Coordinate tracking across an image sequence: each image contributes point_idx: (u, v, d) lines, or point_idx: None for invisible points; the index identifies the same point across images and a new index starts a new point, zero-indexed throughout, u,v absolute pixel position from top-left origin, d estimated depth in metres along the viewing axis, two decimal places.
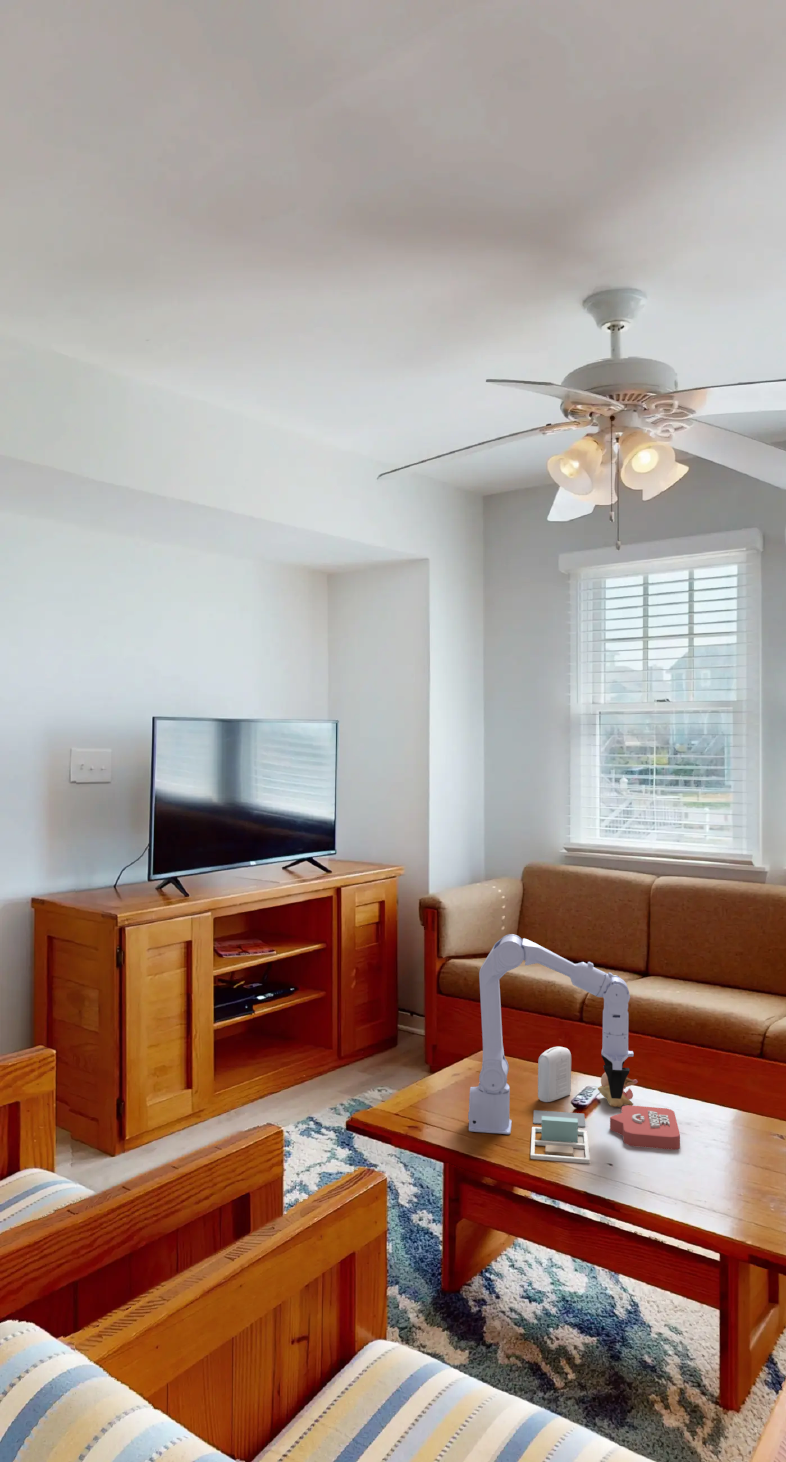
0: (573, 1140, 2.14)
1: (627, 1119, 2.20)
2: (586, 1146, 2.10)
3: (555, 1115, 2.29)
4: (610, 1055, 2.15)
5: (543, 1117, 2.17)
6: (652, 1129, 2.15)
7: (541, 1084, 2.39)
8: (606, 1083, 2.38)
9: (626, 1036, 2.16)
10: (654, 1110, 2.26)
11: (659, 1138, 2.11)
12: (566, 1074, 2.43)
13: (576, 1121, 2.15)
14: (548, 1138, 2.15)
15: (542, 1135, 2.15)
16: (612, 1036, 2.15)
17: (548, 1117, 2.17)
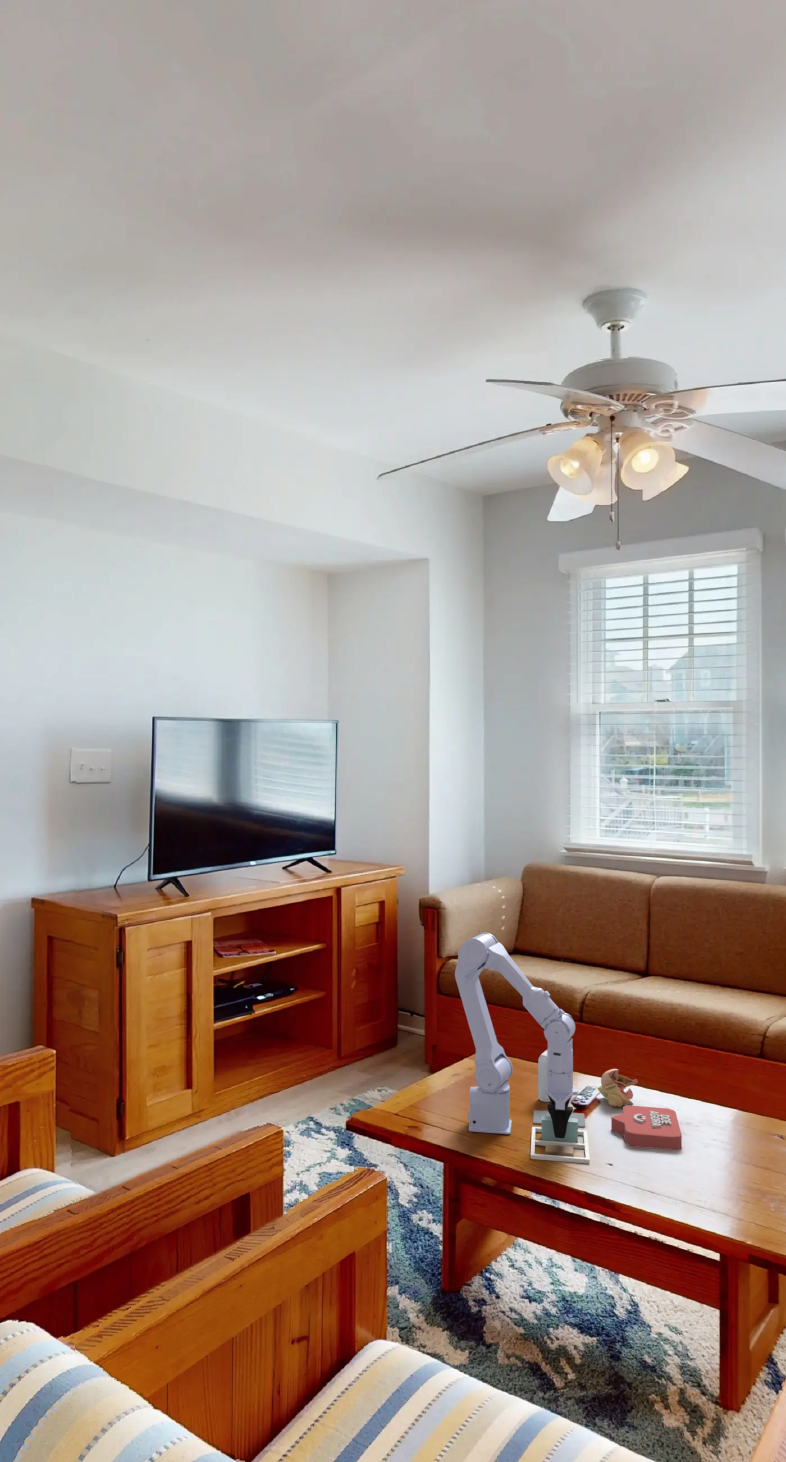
0: (573, 1140, 2.14)
1: (629, 1119, 2.20)
2: (586, 1146, 2.10)
3: None
4: (554, 1094, 2.13)
5: (543, 1117, 2.17)
6: (654, 1129, 2.15)
7: (541, 1084, 2.39)
8: (606, 1083, 2.38)
9: (570, 1074, 2.14)
10: (655, 1110, 2.26)
11: (661, 1138, 2.11)
12: None
13: (576, 1121, 2.15)
14: (548, 1138, 2.15)
15: (542, 1135, 2.15)
16: (556, 1074, 2.13)
17: (548, 1117, 2.17)
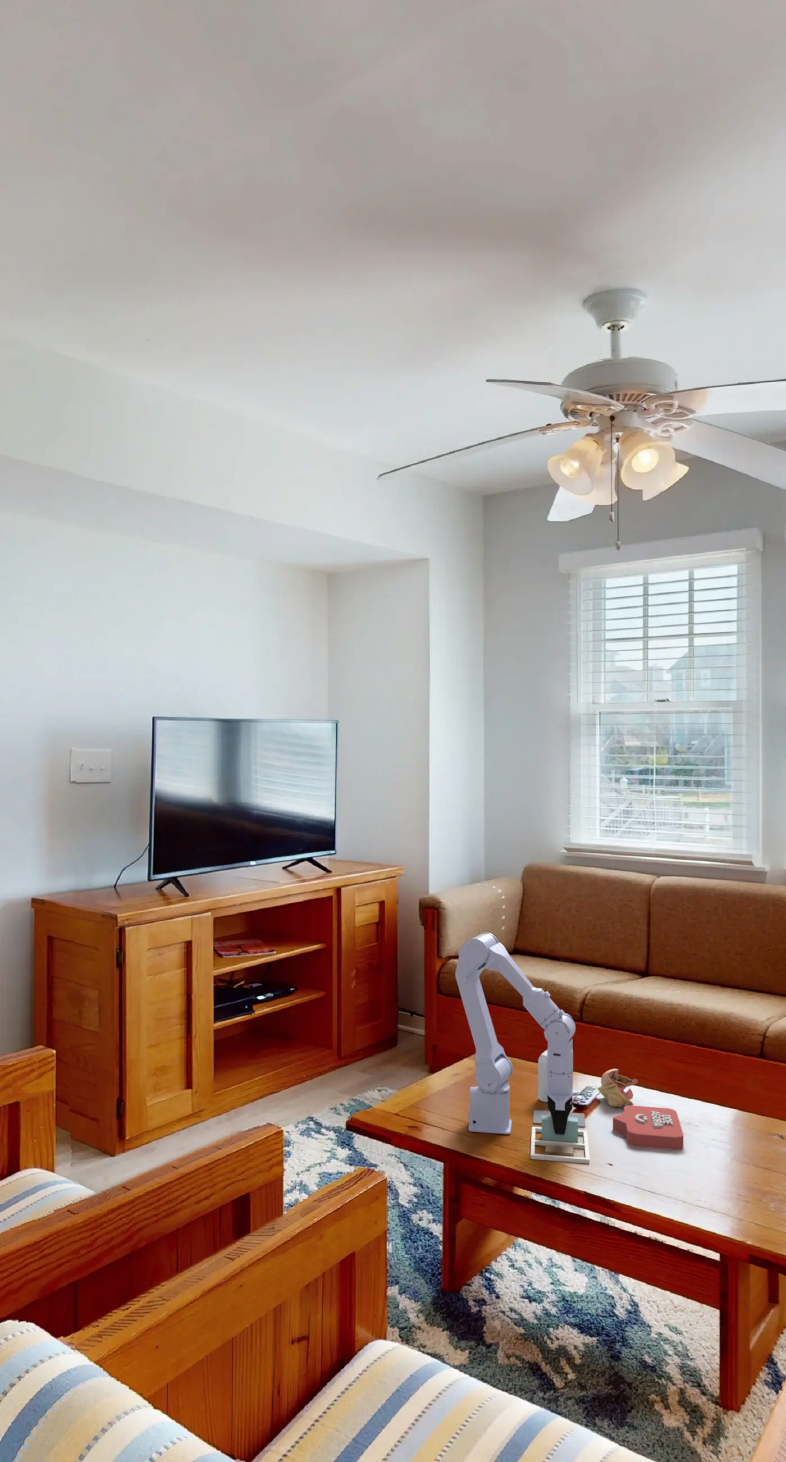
0: (573, 1139, 2.14)
1: (630, 1120, 2.20)
2: (586, 1146, 2.10)
3: None
4: (554, 1094, 2.13)
5: (543, 1116, 2.17)
6: (655, 1129, 2.15)
7: (541, 1084, 2.39)
8: (606, 1083, 2.38)
9: (570, 1075, 2.14)
10: (656, 1110, 2.26)
11: (662, 1139, 2.11)
12: None
13: (576, 1120, 2.15)
14: (548, 1138, 2.15)
15: (542, 1134, 2.15)
16: (556, 1075, 2.13)
17: (548, 1116, 2.17)
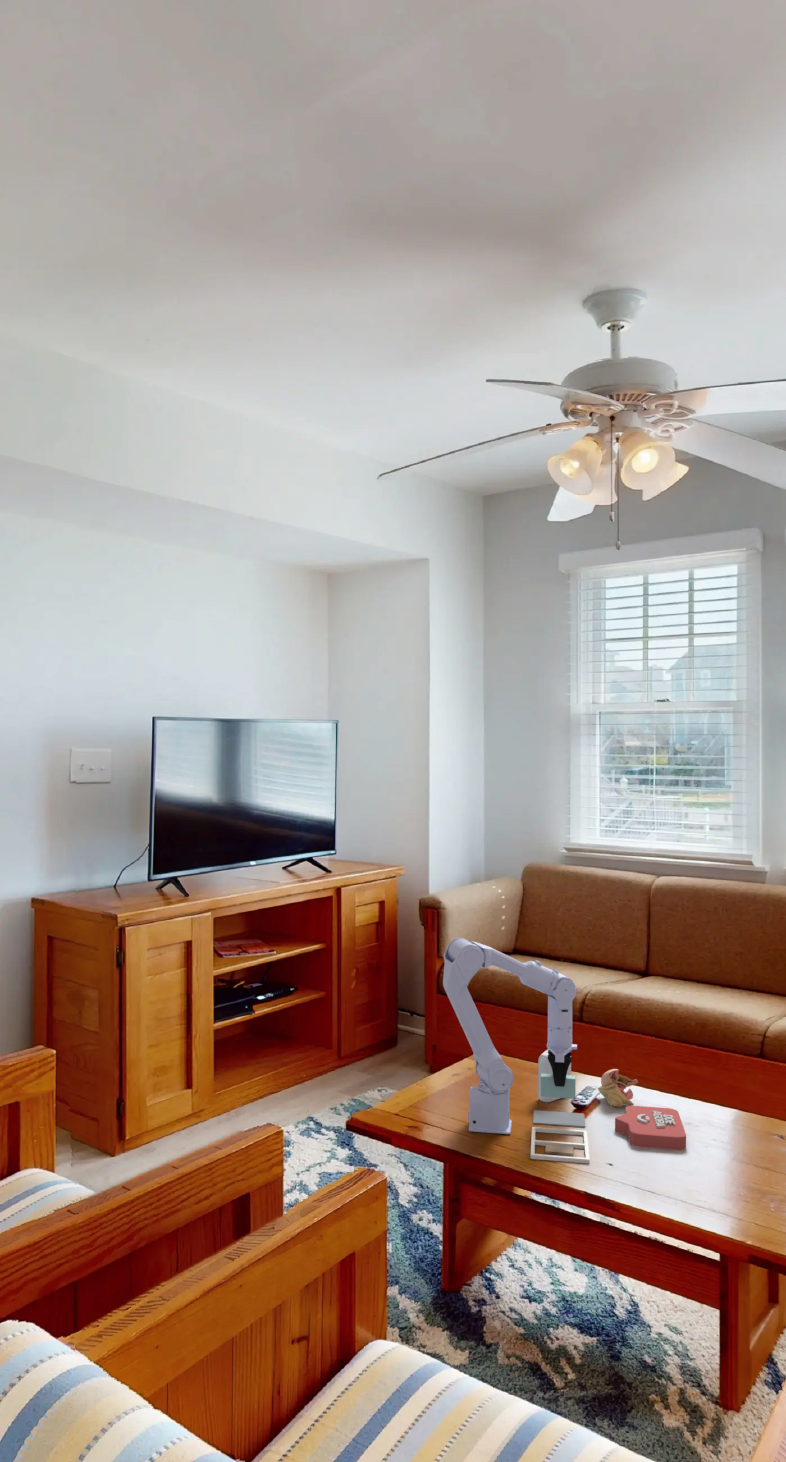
0: (571, 1096, 2.24)
1: (632, 1120, 2.20)
2: (586, 1146, 2.10)
3: (555, 1115, 2.29)
4: (554, 1048, 2.24)
5: (542, 1074, 2.27)
6: (658, 1129, 2.15)
7: None
8: (606, 1083, 2.38)
9: (570, 1030, 2.25)
10: (658, 1110, 2.26)
11: (665, 1139, 2.11)
12: None
13: (574, 1078, 2.25)
14: (547, 1094, 2.25)
15: (541, 1091, 2.26)
16: (556, 1030, 2.24)
17: (547, 1074, 2.27)
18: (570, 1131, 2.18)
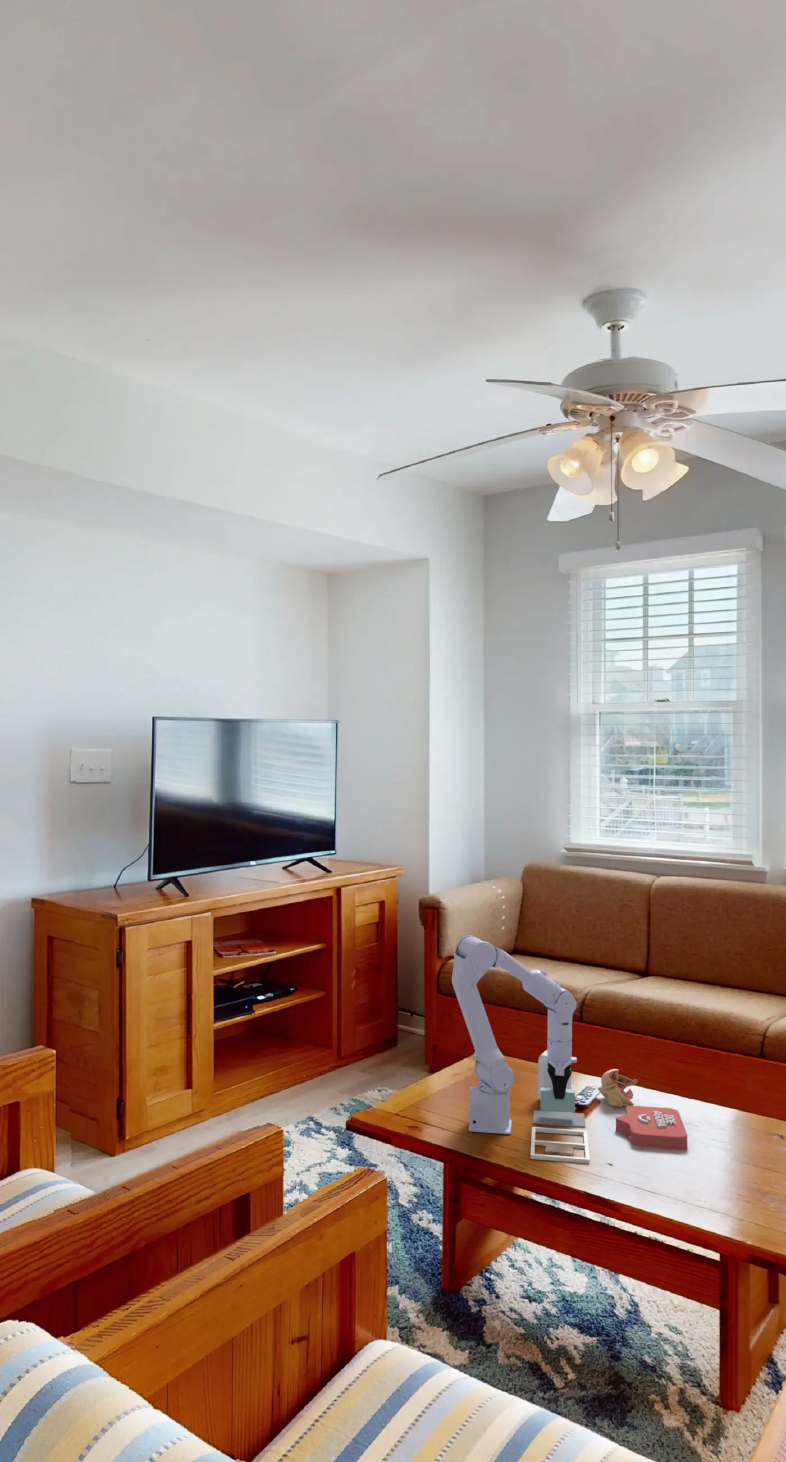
0: (570, 1109, 2.26)
1: (633, 1120, 2.20)
2: (586, 1146, 2.10)
3: (555, 1115, 2.29)
4: (554, 1061, 2.25)
5: (542, 1088, 2.29)
6: (659, 1129, 2.15)
7: (541, 1084, 2.39)
8: (606, 1083, 2.38)
9: (569, 1043, 2.26)
10: (659, 1110, 2.26)
11: (667, 1139, 2.11)
12: None
13: (573, 1092, 2.27)
14: (547, 1108, 2.27)
15: (541, 1105, 2.27)
16: (556, 1043, 2.25)
17: (547, 1088, 2.29)
18: (570, 1131, 2.18)
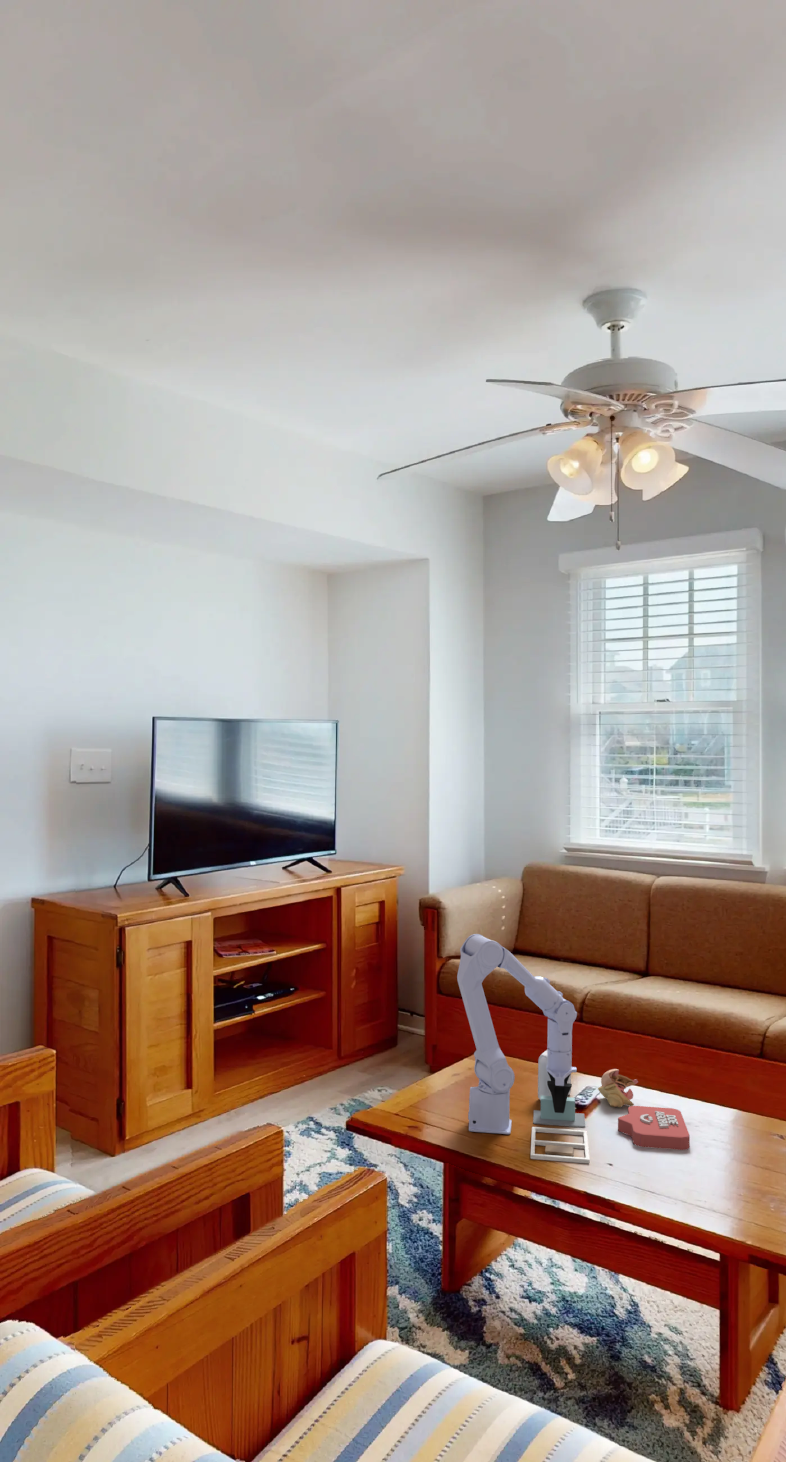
0: (570, 1118, 2.26)
1: (636, 1120, 2.20)
2: (586, 1146, 2.10)
3: None
4: (554, 1071, 2.25)
5: (542, 1096, 2.29)
6: (661, 1129, 2.14)
7: (541, 1084, 2.39)
8: (606, 1083, 2.38)
9: (569, 1053, 2.26)
10: (661, 1110, 2.26)
11: (669, 1139, 2.11)
12: None
13: (573, 1100, 2.26)
14: (547, 1116, 2.27)
15: (541, 1113, 2.27)
16: (556, 1053, 2.25)
17: (547, 1096, 2.29)
18: (570, 1131, 2.18)
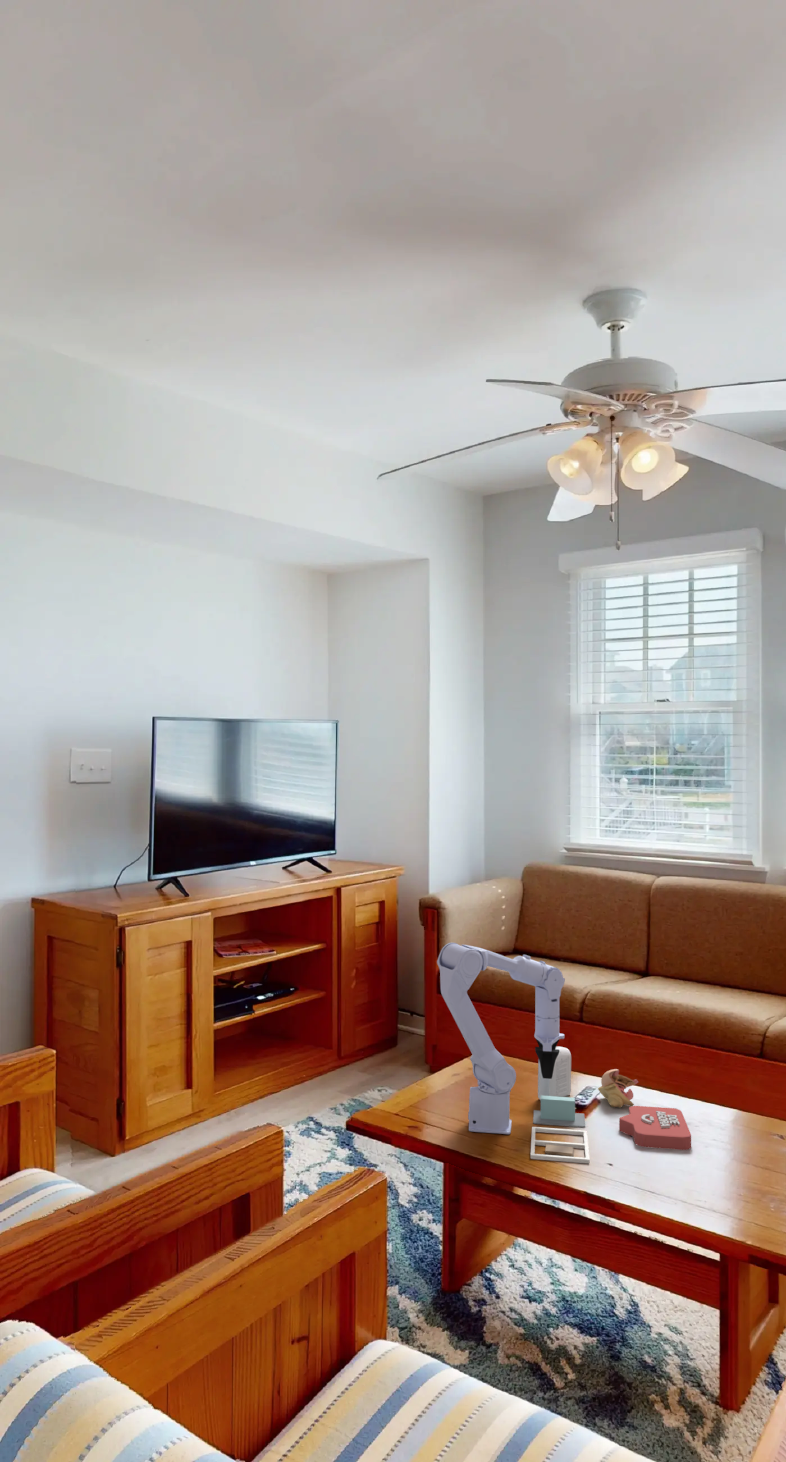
0: (570, 1118, 2.26)
1: (637, 1120, 2.20)
2: (586, 1146, 2.10)
3: None
4: (542, 1037, 2.27)
5: (542, 1096, 2.29)
6: (663, 1129, 2.14)
7: (541, 1084, 2.39)
8: (606, 1083, 2.38)
9: (557, 1019, 2.28)
10: (662, 1110, 2.26)
11: (671, 1139, 2.11)
12: (566, 1074, 2.43)
13: (573, 1100, 2.26)
14: (547, 1116, 2.27)
15: (541, 1113, 2.27)
16: (543, 1019, 2.27)
17: (547, 1096, 2.29)
18: (570, 1131, 2.18)
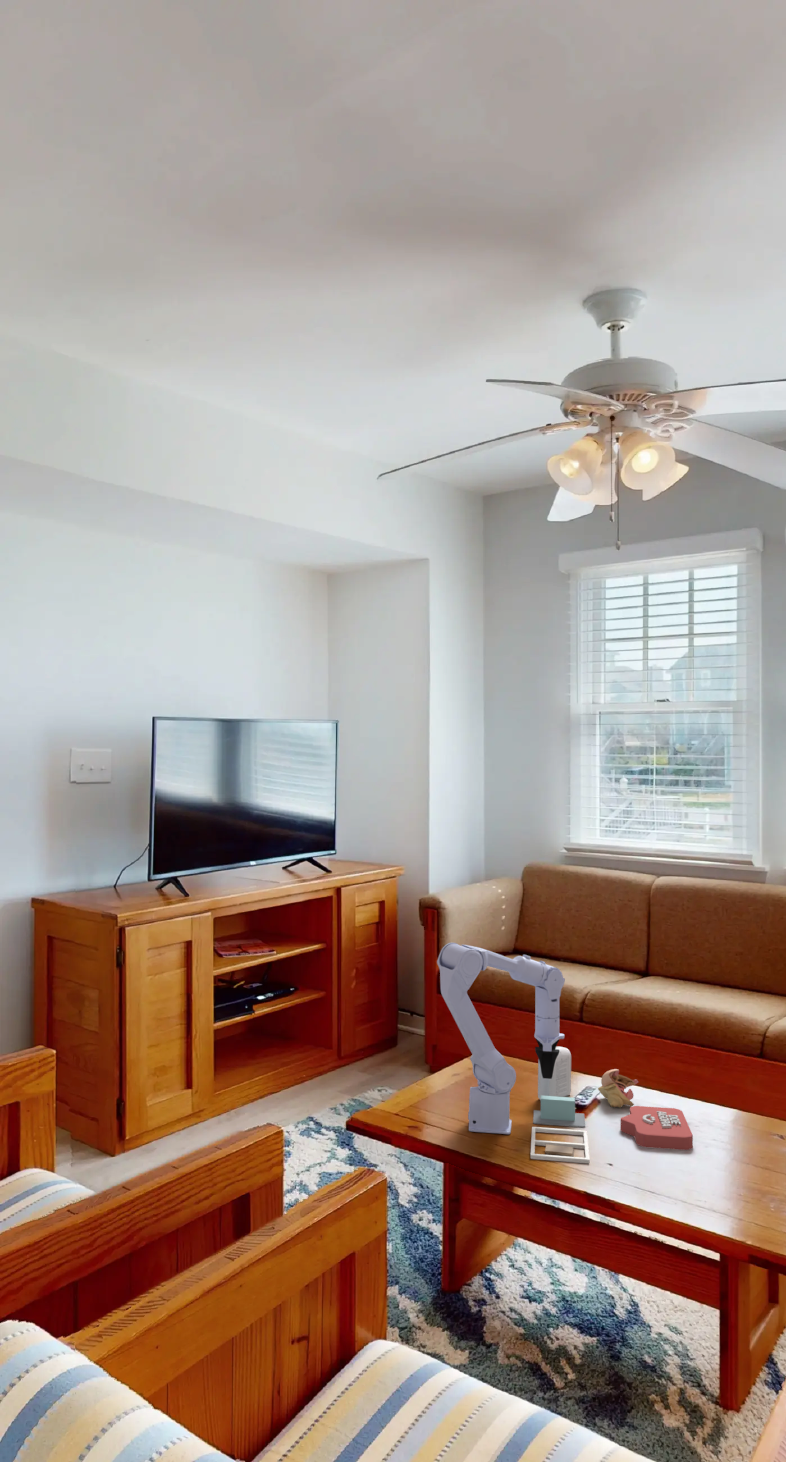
0: (570, 1118, 2.26)
1: (638, 1120, 2.20)
2: (586, 1146, 2.10)
3: None
4: (542, 1037, 2.27)
5: (542, 1096, 2.29)
6: (664, 1130, 2.14)
7: (541, 1084, 2.39)
8: (606, 1083, 2.38)
9: (557, 1019, 2.28)
10: (662, 1110, 2.26)
11: (672, 1139, 2.11)
12: (566, 1074, 2.43)
13: (573, 1100, 2.26)
14: (547, 1116, 2.27)
15: (541, 1113, 2.27)
16: (543, 1019, 2.27)
17: (547, 1096, 2.29)
18: (570, 1131, 2.18)
